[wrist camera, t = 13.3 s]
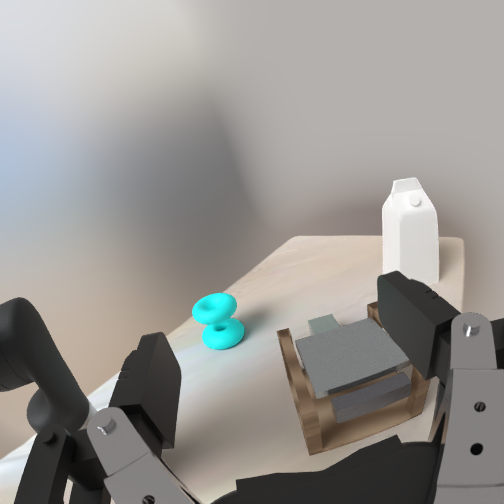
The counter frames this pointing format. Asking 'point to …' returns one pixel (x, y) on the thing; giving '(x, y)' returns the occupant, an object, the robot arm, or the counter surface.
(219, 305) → the donuts
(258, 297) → the counter surface
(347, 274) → the counter surface
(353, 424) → the frame
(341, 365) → the trapdoor
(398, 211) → the milk
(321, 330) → the soapstone block
